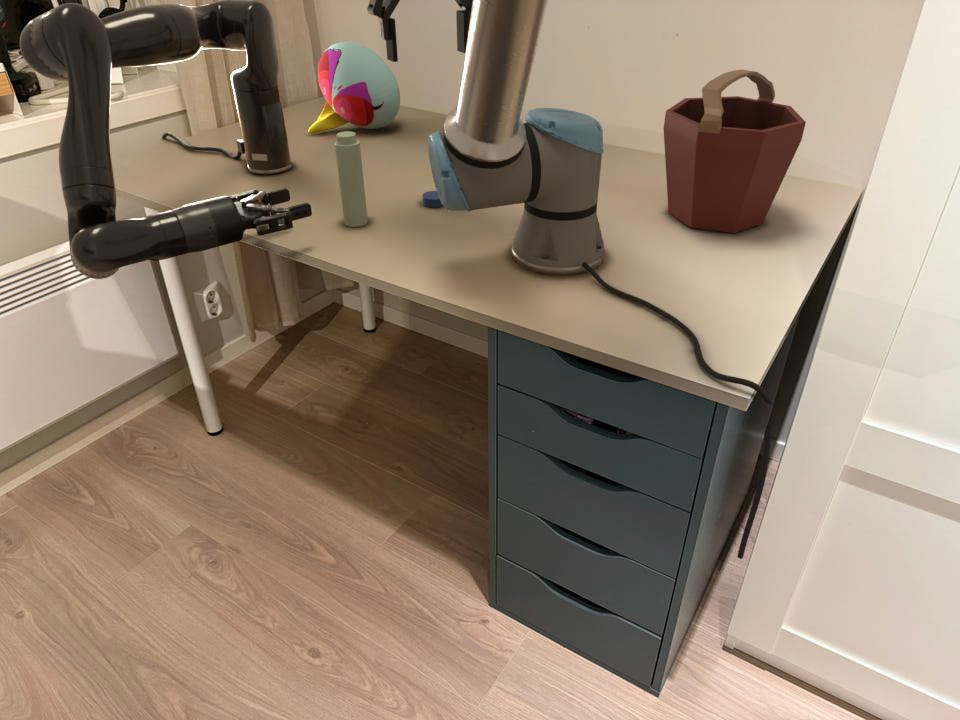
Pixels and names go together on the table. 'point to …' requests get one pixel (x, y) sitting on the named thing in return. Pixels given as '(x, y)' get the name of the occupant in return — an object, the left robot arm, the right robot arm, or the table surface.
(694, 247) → the table surface
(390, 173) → the table surface
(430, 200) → the lid
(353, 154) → the bottle
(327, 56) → the toy
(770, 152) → the bucket
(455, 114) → the right robot arm
